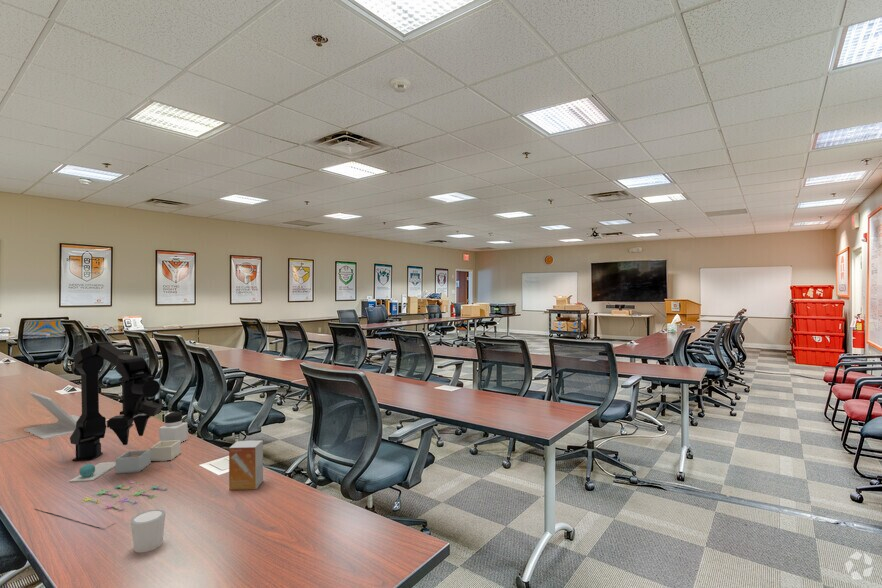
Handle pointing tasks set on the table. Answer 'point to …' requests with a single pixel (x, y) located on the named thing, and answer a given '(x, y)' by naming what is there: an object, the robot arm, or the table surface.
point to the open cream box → (165, 450)
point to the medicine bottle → (173, 428)
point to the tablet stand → (59, 428)
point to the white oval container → (148, 530)
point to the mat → (96, 472)
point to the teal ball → (87, 470)
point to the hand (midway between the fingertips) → (133, 440)
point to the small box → (245, 465)
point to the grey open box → (133, 461)
